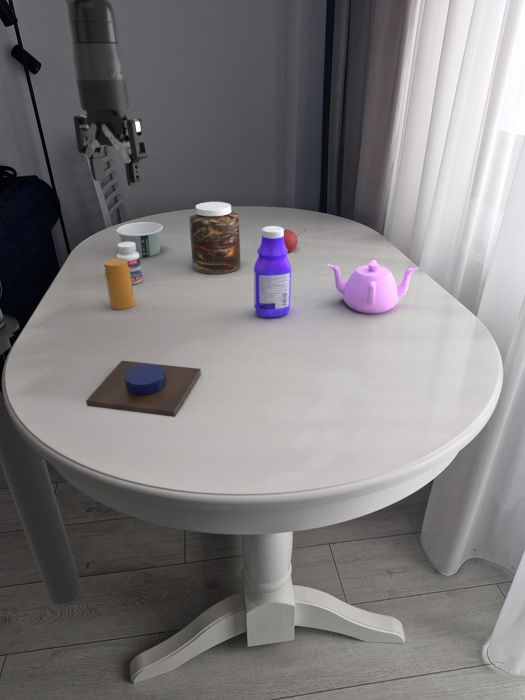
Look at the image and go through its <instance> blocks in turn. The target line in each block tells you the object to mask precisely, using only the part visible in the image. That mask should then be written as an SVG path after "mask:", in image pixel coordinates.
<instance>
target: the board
mask: <svg viewBox="0 0 525 700" xmlns="http://www.w3.org/2000/svg"><path fill="white" fill-rule="evenodd" d="M143 364H151V362H149V363H148V362H139V361H129V360H120V361H119V363H118V364H117V365H116V366H115V367H114V368H113V370H112V371H111V372H110V373H109V374H108V375H107V376H106V378H105V379H104V380H103V381H102V382H101V383H100V384H99V386H98V387H97V388H96V389H95V390H94V391H93V392H92V393H91V395H90V396H89V397H87V399H86V400H85V403H86V406H87V407H92V408H100V409H109V410H115V411H122V412H123V411H125V412H130V413H131V412H133V413H140V414H147V415H157V416H165V417H171V418H175V417H176V416H177V414H178V413H179V411H180V409H181V408H182V406H183V404H184V403H185V401H186V399H187V398H188V396H189V395H190V393H191V391H192V389H193V388H194V386H195V384H196V383H197V381H198V380H199V378H200V377H201V374H202V371H201V368H196V367H187V366H179V365H167V364H159V363H153V364H154V365H158V366H160V367H162V368H163V370H164V373H165V377H166V382H165V385H164V387H163V388H162V389H160V390H159V391H157V392H155V393H151V394H146V395H138V394H133V393H131V392H129V391H128V390H127V388H126V385H125V374H126V372H127V371H128V370H130V369H131V368H133V367H135V366H138V365H143Z"/></svg>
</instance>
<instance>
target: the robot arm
mask: <svg viewBox="0 0 525 700" xmlns="http://www.w3.org/2000/svg"><path fill="white" fill-rule="evenodd" d="M63 2H64V5H65V8H66V15H67V16H66V17H67V22H68V28H69V34H70V35H69V36H70V40H71V41H70V42H71V49H72V63H73V69H74V75H75V80H76V86H77V93H78V99H79V104H80V108H81V109H82V111H85V112H86V114H78V115H74V116H73V123H74V131H75V138H76V145H77V151H78V153H79V154H84V155H85V157H86V158H88V162H89V168H90V173H91V176H92V179H93V181H97V182H99V181H103V180H105V179H106V172H105V166H104V159H103V156H101V155H102V153H103V151H104V148H105V147H106V146H108V147H113V148H114V150H115V151H116V152H117V153H120V155H121V157H122V158H123V160H124V162H125V163H124V166H125V167H124V168H125V175H126V182H127V185H128V186H129V187H135V186H139V185H140V184H141V181H142V178H141V177H142V176H141V169H140V161H141V160H144V159H146V158H148V156H149V154H148V153H149V152H148V146H147V139H146V134H145V133H146V132H145V127H144V121H143V119H142V118H140V117H138V118H132V119H129V118H128V116H127V109H128V108H129V106H130V104H129V94H128V89H127V88H128V87H127V79H126V72H125V64H124V59H123V54H122V50H121V45H120V38H119V37H120V36H119V31H118V22H117V15H116V10H115V6H114V4H113V2H112V1H111V0H63ZM84 139H85V141H84ZM2 314H3V312H2V309H1V308H0V331H1V330H2V329H3V328H4V327H5V325H6V324H5V320H4V318H3V316H2Z"/></svg>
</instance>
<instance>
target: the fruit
mask: <svg viewBox="0 0 525 700" xmlns="http://www.w3.org/2000/svg"><path fill="white" fill-rule="evenodd" d="M303 232H306V229H304V230H303V231H301V232H300V233H298V234H296V233H295V232H294V231H293V230H291V229H284V243H285V246H286V248H287V250H288V253H292V252H294V251H295V249H296V248H297V247H298V241H299V239H298V237H299V236H300V235H301V234H302V233H303Z"/></svg>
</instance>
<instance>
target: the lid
mask: <svg viewBox="0 0 525 700" xmlns="http://www.w3.org/2000/svg"><path fill="white" fill-rule="evenodd" d="M154 364H155V363H150V364H143V365H138V366H135V367H133V368H131V369H130V370H128V371H127V372H126V374H125V385H126V388H127V390H128V391H129V392H131V393H133V394H138V395H146V394H151V393H155V392H157V391H159V390H160V389H162V388H163V387H164V385H165V382H166V377H165V373H164V370H163V368H162V367H160V366H158V365H154Z"/></svg>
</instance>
